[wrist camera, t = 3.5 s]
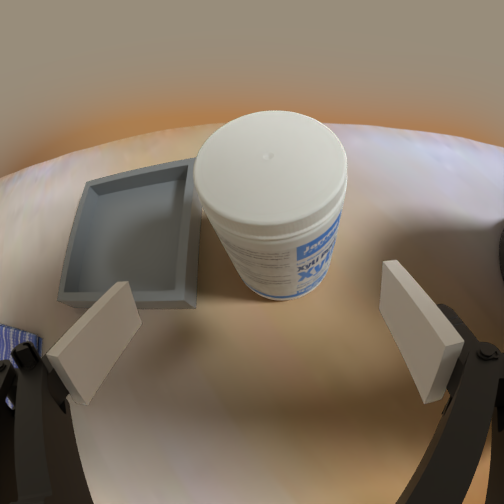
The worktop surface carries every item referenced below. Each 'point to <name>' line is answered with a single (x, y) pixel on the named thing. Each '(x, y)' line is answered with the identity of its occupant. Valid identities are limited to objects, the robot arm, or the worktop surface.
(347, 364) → the worktop surface
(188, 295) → the tray
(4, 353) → the dish towel
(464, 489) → the robot arm
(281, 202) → the supplement tub
